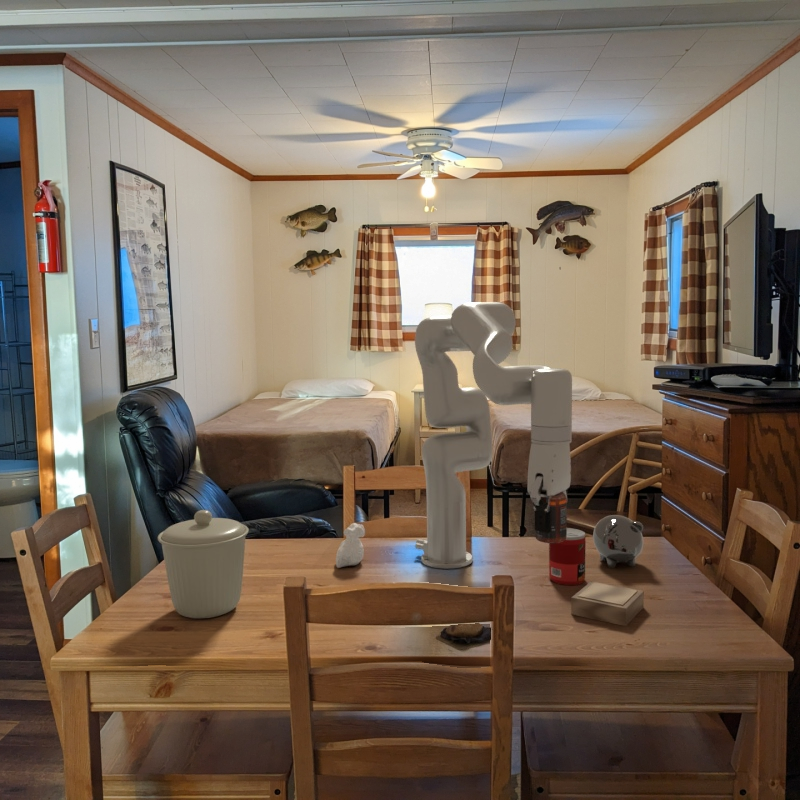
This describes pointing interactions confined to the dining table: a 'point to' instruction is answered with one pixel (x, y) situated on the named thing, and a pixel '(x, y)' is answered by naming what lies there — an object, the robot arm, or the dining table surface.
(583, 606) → the base
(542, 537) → the supplement bottle
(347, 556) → the bust
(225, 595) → the canister
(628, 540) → the piggy bank
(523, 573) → the dining table surface
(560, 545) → the canned food
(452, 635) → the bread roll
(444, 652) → the dining table surface
